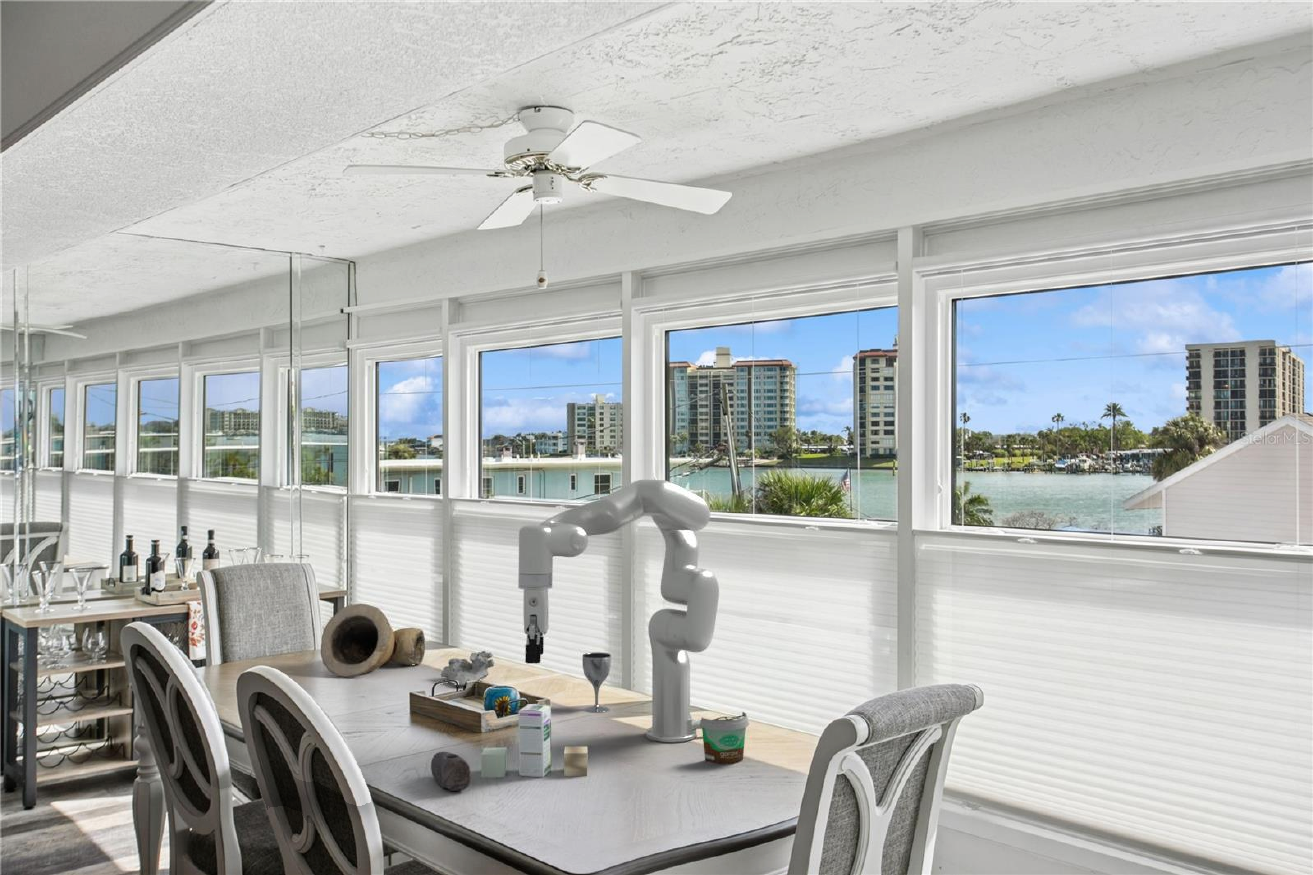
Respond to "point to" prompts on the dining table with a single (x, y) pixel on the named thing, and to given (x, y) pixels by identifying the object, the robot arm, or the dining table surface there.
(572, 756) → the birch cube
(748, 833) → the dining table surface
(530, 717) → the syrup box
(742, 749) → the food container
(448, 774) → the perforated stone tool
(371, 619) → the footed stone vessel
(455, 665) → the coral
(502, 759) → the sage cube
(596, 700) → the wine glass
